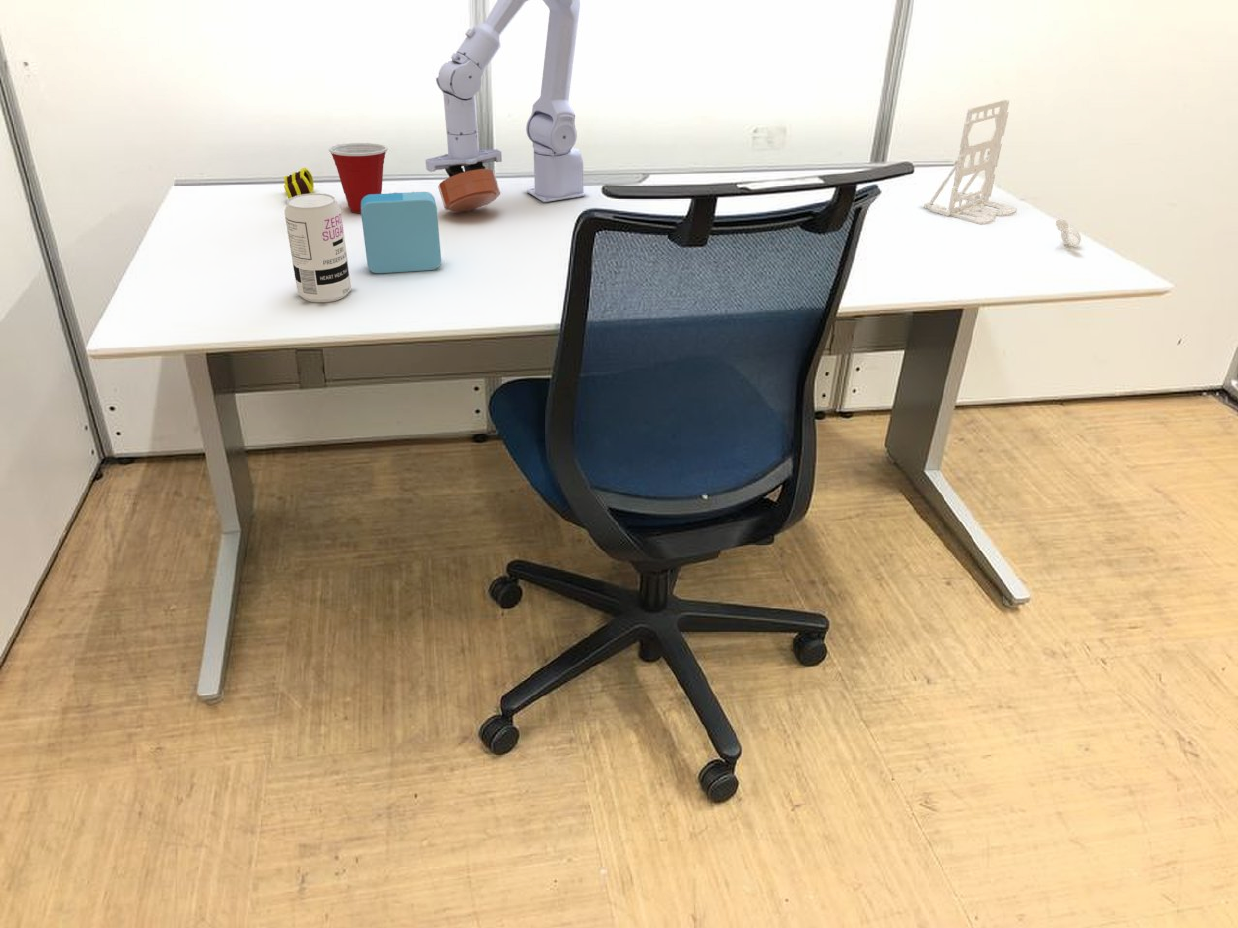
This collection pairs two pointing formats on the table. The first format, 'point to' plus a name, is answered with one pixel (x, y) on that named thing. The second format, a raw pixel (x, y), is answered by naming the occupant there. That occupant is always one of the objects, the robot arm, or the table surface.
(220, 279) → the table surface
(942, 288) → the table surface
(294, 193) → the opera glasses
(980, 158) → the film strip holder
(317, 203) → the supplement can
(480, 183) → the bowl
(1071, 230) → the rabbit figurine
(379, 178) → the plastic cup
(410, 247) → the light blue rounded block
